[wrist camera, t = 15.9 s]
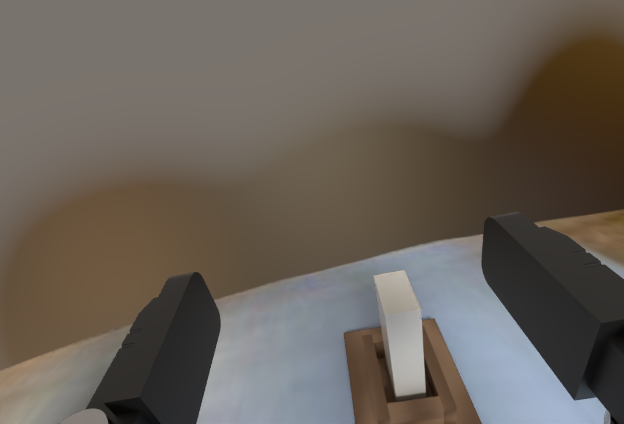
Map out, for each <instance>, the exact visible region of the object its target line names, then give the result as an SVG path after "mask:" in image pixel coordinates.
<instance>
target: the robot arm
mask: <svg viewBox="0 0 624 424" xmlns="http://www.w3.org/2000/svg"><path fill="white" fill-rule="evenodd" d="M482 270H483V274H484V277H485V279H486V281H487V283H488V285H489V286H490V287H491V289H492V290H493V292H494V293H495V294H496V296H497V297H498V298H499V300H500V301H501V302H502V304H503V305H504V306H505V308H506V309H507V310H508V312H509V313H510V314H511V316H512V317H513V318H514V320H515V321H516V322H517V324H518V325H519V327H520V328H521V329H522V331H523V332H524V333H525V335H526V336H527V337H528V339H529V340H530V341H531V343H532V344H533V345H534V347H535V348H536V349H537V351H538V352H539V353H540V355H541V356H542V357H543V359H544V360H545V362H546V363H547V364H548V366H549V367H550V368H551V370H552V371H553V372H554V374H555V375H556V376H557V378H558V379H559V380H560V382H561V383H562V384H563V386H564V387H565V388H566V390H567V391H568V392H569V394H570V395H571V397H572V398H573V399H574V400H581V399H588V398H594V397H597V398H598V399H599V400H600V402H601V403H602V404H603V405H604V407H605V408H606V411H605V414H604V424H624V279H623V278H621V277H620V276H619V275H617V274H616V273H615V272H614V271H612V270H611V269H610V268H608V267H607V266H606V265H602V264H601V261H599V260H598V259H597V258H595V257H594V256H593V255H592V254H590V253H586V250H585V249H584V248H582V247H581V246H580V245H579V244H577V243H576V242H575V241H573V240H572V239H571V238H569V237H568V236H566V235H564V234H561V233H559V232H557V231H554V230H552V229H550V228H547V227H540V228H539V227H538V226H537V225H535V224H534V223H533V222H532V221H531V220H529V219H528V218H527V217H525V216H524V215H523V214H522V213H520V212H514V213H509V214H504V215H499V216H494V217H488V218H487V219H486V220H485V223H484V233H483V247H482ZM220 326H221V321H220V314H219V311H218V308H217V306H216V304H215V302H214V300H213V298H212V296H211V294H210V292H209V290H208V288H207V286H206V284H205V281H204V279H203V278H202V276H201V275H200V274H199V273H198V272H194V273H189V274H183V275H178V276H173V277H170V278H169V279H168V280H167V281H166V283H165V285H164V287H163V289H162V291H161V293H160V295H159V297H158V298H154V299H153V300H152V301H151V302H150V303H149V304H148V305H147V306H146V307H145V308H144V309H143V310H142V311H141V312H140V313H139V315H138V317H137V318H136V320H135V322H134V324H133V325H132V327H131V329H130V334H127V336H126V338H125V340H124V342H123V343H122V348H121V349H119V351H118V352H117V354H116V356H115V358H114V359H113V361H112V363H111V365H110V367H109V368H108V370H107V372H106V374H105V376H104V377H103V379H102V381H101V383H100V385H99V386H98V388H97V390H96V392H95V394H94V395H93V397H92V399H91V401H90V403H89V404H88V406H87V408H86V409H85V410H83V411H80V412H77V413H75V414H73V415H71V416H70V417H68V418H66V419H65V420H63V421H62V422H61V423H59V424H196V422H197V419H198V415H199V411H200V407H201V403H202V399H203V395H204V391H205V387H206V384H207V380H208V376H209V372H210V368H211V364H212V360H213V356H214V352H215V348H216V345H217V341H218V337H219V333H220Z"/></svg>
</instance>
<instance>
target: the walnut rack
mask: <svg viewBox="0 0 624 424" xmlns="http://www.w3.org/2000/svg"><path fill="white" fill-rule="evenodd" d="M422 334H423V352H424V369H425V387H426V398H422V399H415V400H408V401H401V402H396V400H395V396H394V392H393V388H392V384H391V380H390V376H389V373H388V369H387V364H386V357H385V350H384V344H383V337H382V330H381V327H378V328H372V329H366V330H359V331H353V332H347V333H344V339H345V347H346V354H347V362H348V369H349V377H350V385H351V392H352V400H353V408H354V415H355V423H356V424H482V423H481V421H480V419H479V417H478V414H477V412H476V410H475V408H474V406H473V403H472V401H471V399H470V397H469V394H468V392H467V390H466V388H465V385H464V383H463V381H462V379H461V377H460V374H459V372H458V370H457V368H456V365H455V363H454V361H453V359H452V357H451V354H450V352H449V350H448V348H447V345H446V343H445V341H444V339H443V337H442V334H441V332H440V330H439V328H438V325H437V323H436V321H435V319H428V320H422Z"/></svg>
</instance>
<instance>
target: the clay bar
mask: <svg viewBox="0 0 624 424" xmlns="http://www.w3.org/2000/svg"><path fill="white" fill-rule="evenodd" d="M374 282H375V289H376V296H377V303H378V310H379V316H380V323H381V330H382V337H383V344H384V350H385V357H386V364H387V369H388V373H389V376H390V380H391V384H392V388H393V392H394V396H395V400H396V402H401V401H408V400H415V399H422V398H426V387H425V369H424V352H423V334H422V316H421V308H420V305H419V303H418V301H417V298H416V296H415V294H414V291H413V289H412V287H411V284H410V282H409V279H408V277H407V275H406V272H405V270H402V271H396V272H391V273H385V274H379V275H374Z"/></svg>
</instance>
